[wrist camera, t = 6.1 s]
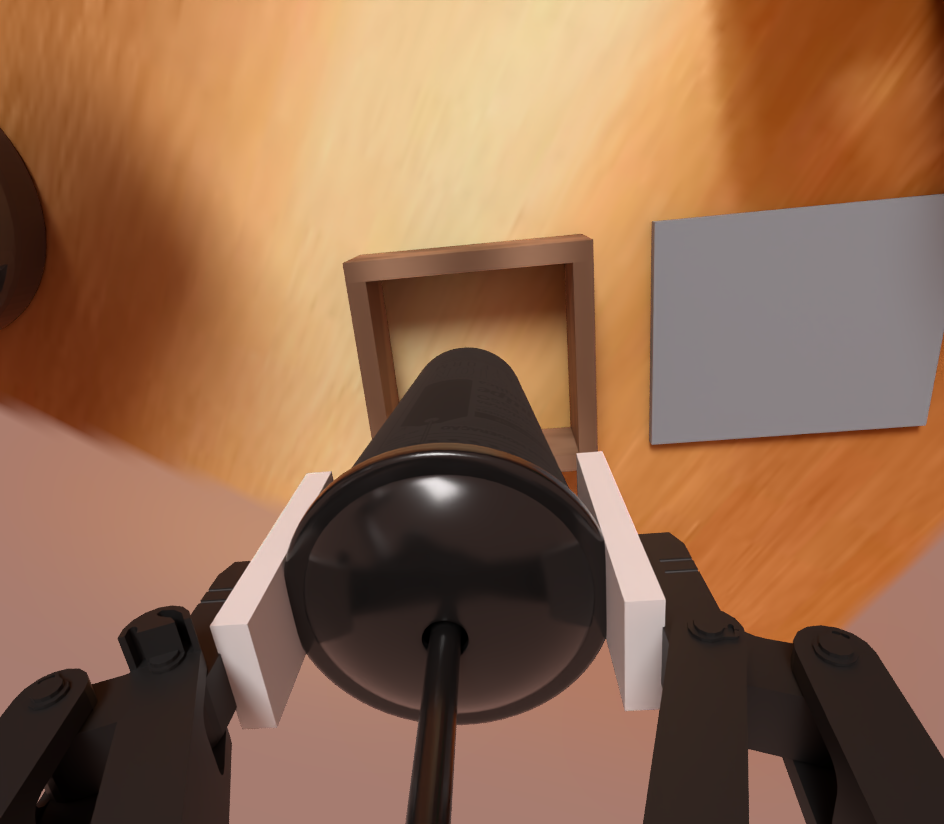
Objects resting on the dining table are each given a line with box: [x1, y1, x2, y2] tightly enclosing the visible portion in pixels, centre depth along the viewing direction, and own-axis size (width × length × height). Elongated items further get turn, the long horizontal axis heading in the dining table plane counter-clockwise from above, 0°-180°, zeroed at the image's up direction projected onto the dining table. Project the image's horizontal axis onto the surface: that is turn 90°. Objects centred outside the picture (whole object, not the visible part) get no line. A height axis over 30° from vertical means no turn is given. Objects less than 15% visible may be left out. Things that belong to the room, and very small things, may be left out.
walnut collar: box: [343, 234, 598, 472], centre depth 33 cm, size 12×12×4 cm
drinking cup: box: [284, 348, 607, 824], centre depth 17 cm, size 8×8×20 cm
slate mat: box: [649, 194, 944, 445], centre depth 33 cm, size 16×13×1 cm
